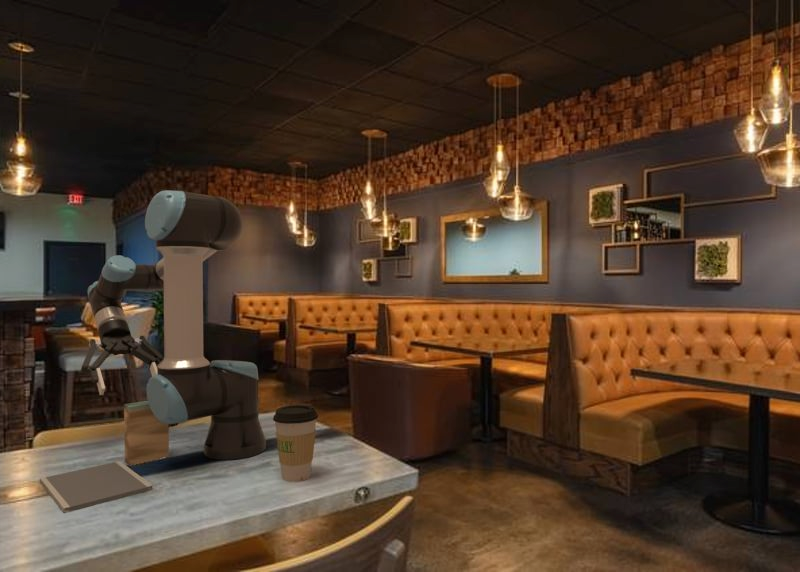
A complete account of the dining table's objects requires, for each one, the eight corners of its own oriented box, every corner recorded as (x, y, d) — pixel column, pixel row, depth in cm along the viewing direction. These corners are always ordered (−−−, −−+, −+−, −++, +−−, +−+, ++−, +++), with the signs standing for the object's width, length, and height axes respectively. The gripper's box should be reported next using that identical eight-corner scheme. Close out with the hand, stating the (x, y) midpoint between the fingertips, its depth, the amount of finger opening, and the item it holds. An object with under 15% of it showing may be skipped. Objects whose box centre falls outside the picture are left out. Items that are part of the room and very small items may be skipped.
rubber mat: (40, 482, 116) (39, 478, 116) (119, 464, 127) (119, 460, 127) (63, 512, 100) (63, 508, 100) (152, 489, 111) (152, 485, 111)
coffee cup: (277, 469, 123) (276, 404, 123) (320, 468, 124) (319, 403, 124) (270, 485, 113) (269, 415, 113) (317, 484, 114) (316, 413, 114)
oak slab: (124, 462, 129) (124, 404, 129) (163, 453, 135) (162, 398, 135) (130, 466, 126) (129, 407, 126) (168, 457, 132) (168, 401, 132)
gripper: (155, 332, 159) (176, 389, 149) (58, 339, 142) (74, 404, 131) (162, 315, 156) (183, 372, 145) (63, 320, 138) (79, 385, 127)
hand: (131, 388), depth 138 cm, fingers open, 13 cm apart
